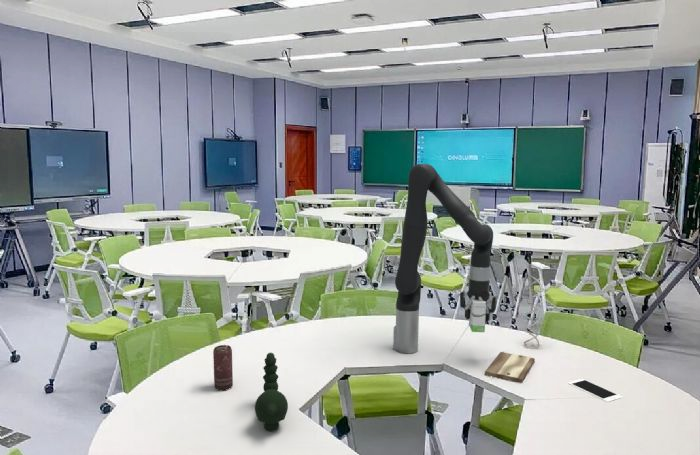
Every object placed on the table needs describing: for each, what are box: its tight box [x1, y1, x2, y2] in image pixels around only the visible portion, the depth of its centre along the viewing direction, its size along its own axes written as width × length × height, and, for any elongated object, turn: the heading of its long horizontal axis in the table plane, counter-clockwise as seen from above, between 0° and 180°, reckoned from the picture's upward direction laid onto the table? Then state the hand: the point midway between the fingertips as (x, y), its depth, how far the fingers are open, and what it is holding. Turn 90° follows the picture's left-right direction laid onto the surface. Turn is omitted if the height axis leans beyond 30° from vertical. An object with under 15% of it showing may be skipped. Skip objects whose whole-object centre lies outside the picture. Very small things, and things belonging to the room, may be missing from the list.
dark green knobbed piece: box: [254, 352, 289, 432], centre depth 158 cm, size 9×19×25 cm
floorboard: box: [484, 351, 536, 384], centre depth 198 cm, size 13×22×2 cm, turn 150°
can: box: [212, 344, 234, 391], centre depth 179 cm, size 6×6×14 cm
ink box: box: [468, 299, 486, 333], centre depth 201 cm, size 9×5×12 cm, turn 176°
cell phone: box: [567, 378, 624, 403], centre depth 180 cm, size 8×16×1 cm, turn 27°
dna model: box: [523, 274, 544, 349], centre depth 218 cm, size 7×6×30 cm
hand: (477, 320), depth 202 cm, fingers closed on ink box, 6 cm apart
